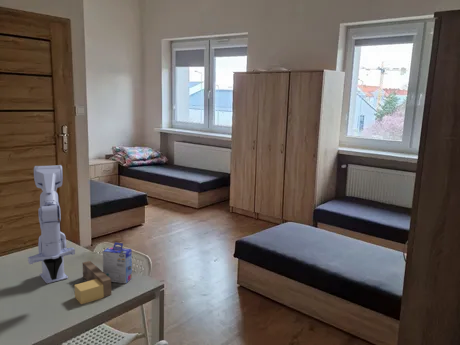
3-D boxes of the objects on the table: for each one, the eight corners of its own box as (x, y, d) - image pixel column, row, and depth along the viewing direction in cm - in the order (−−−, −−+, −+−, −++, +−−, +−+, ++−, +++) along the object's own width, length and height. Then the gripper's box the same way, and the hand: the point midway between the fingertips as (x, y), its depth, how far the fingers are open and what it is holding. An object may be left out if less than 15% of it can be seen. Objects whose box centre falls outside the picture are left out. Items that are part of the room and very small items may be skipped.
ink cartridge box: (132, 277, 159) (132, 243, 156) (126, 284, 154) (125, 248, 151) (109, 275, 161) (108, 240, 158) (102, 281, 156) (101, 245, 153)
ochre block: (75, 297, 143) (74, 284, 142) (97, 291, 148) (96, 278, 147) (81, 304, 138) (80, 291, 137) (103, 297, 143) (103, 284, 143)
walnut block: (83, 277, 159) (82, 262, 158) (90, 275, 161) (90, 260, 159) (103, 297, 144) (102, 281, 142) (111, 294, 145) (111, 279, 144)
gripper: (31, 248, 127) (33, 288, 129) (77, 239, 136) (79, 276, 139) (25, 242, 132) (27, 280, 135) (70, 233, 141) (72, 269, 144)
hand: (53, 278), depth 137 cm, fingers closed
